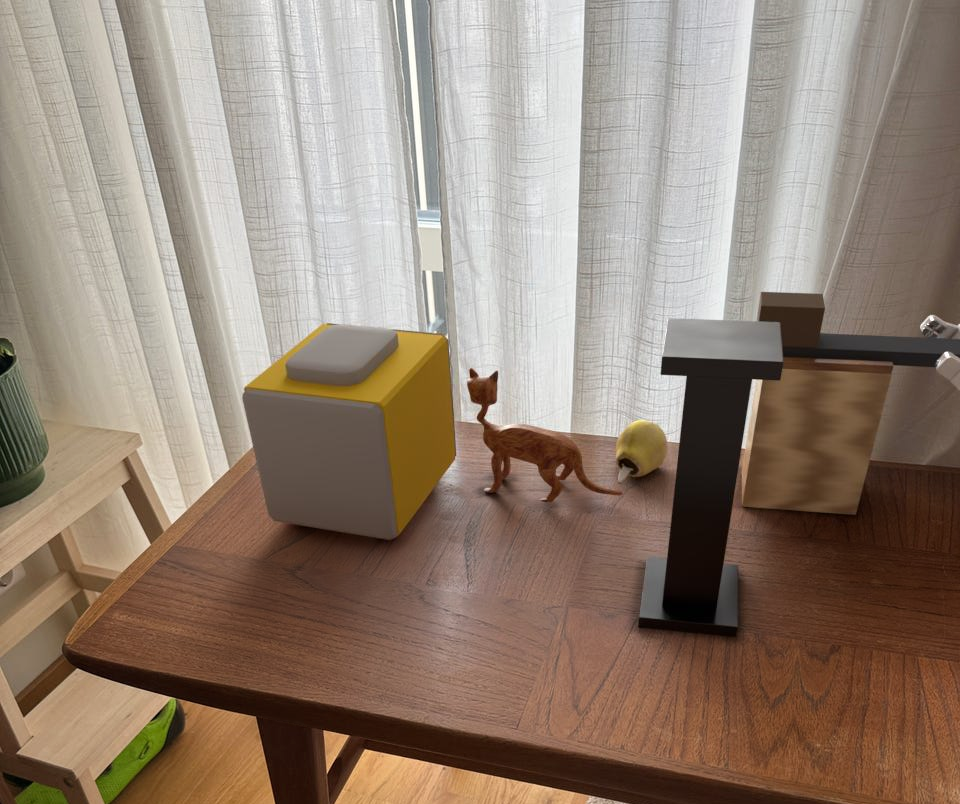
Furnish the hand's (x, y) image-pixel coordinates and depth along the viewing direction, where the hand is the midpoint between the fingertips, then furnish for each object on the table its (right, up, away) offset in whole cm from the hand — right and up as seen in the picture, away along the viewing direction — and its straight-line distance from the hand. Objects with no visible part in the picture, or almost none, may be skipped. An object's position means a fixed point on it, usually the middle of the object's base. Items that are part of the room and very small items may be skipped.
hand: (932, 340), depth 90 cm
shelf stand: (-24, -26, -1) cm, 35 cm away
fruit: (-26, -10, +19) cm, 33 cm away
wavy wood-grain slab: (-9, -13, +13) cm, 21 cm away
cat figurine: (-37, -12, +16) cm, 42 cm away
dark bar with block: (-7, -1, +3) cm, 7 cm away
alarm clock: (-58, -14, +16) cm, 61 cm away
